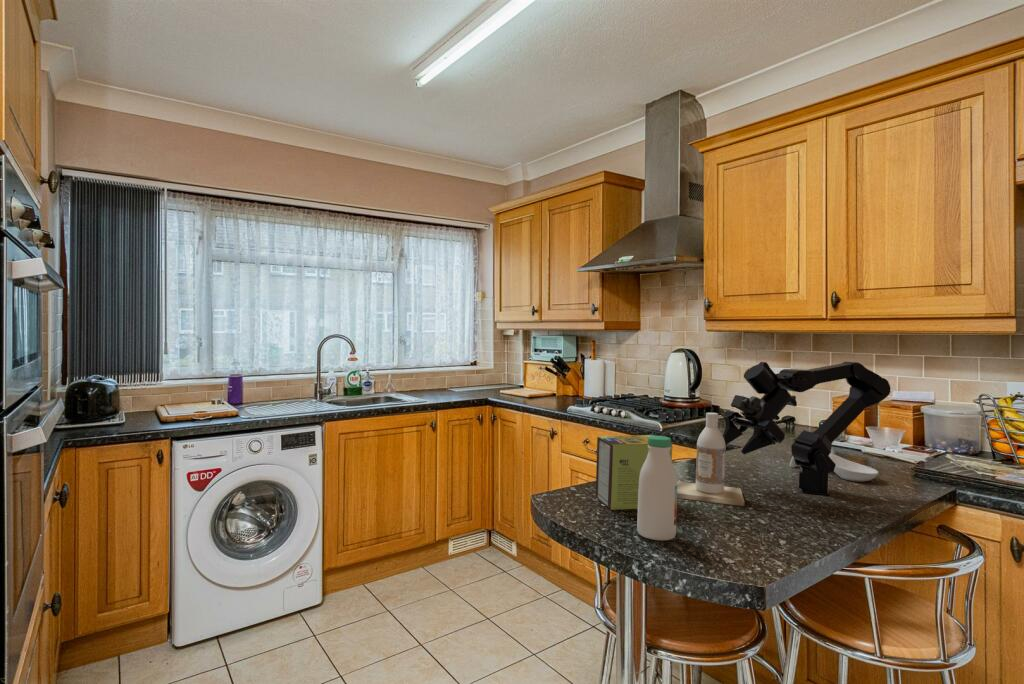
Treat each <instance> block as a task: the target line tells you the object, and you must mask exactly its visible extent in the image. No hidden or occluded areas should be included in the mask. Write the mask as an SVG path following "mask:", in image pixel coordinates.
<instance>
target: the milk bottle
mask: <svg viewBox="0 0 1024 684" xmlns="http://www.w3.org/2000/svg"><path fill="white" fill-rule="evenodd" d="M671 443H672V438H671V437H669V436H664V435H653V436H649V437H648V448H649V452H648V455H647V458H646V460H645V462H644V464H643V466H642V469H641V471H640V476H639V489H638V509H637V513H636V514H637V517H636V518H637V522H636V531H637V533H638V534H639V535H640V536H641V537H643V538H646V539H648V540H653V541H662V542H663V541H671V540H674V539H675V537H676V533H677V514H678V498H677V481H678V476H677V471H676V469H675V466H674V464H673V460H672V461H671V457H670V449H671Z"/></svg>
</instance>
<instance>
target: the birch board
mask: <svg viewBox="0 0 1024 684" xmlns="http://www.w3.org/2000/svg"><path fill="white" fill-rule="evenodd" d="M677 499H681V500H690V501H698V502H707V503H715V504H723V505H731V506H741V507H745V503H746V502H745V501H746V500H745V498H744V496H743V492H742V489H741V487H734V486H731V487H730V486H725V485H724V491H723V492H722V493H720V494H709V493H704V492H701V491H698V490H697V489H696V482H689V481H678V480H677Z"/></svg>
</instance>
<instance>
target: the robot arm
mask: <svg viewBox="0 0 1024 684" xmlns="http://www.w3.org/2000/svg"><path fill="white" fill-rule="evenodd" d="M743 379H745V381H746V382H747V383H748V384H749V385H750V386H751V387H752V389H753V390H754V391H755V392H756V394H759V395H760V394H761V395H763V396H762V397H757V396H755V395H754V396H750V397H748V396H747V397H746V396H744V395H738V394H734V397H733V399H732V401H731V403H730V407H732V408H735V409H737V410H739V411H740V413H739V411H734V410H726V411H725V412H724V413H723V414H722V416H721V417H722V418H723V421H724V422H725V428H724V431H723V434H722V436H723V438H724V440H725V446H727V445H728V444H730V443H731V442H732V441H734V440H736V439H738V438H739V437H741V436H743V435H744V434H743V432H746V431H747V430H748V429H751V430H753V433H752V435H751V437H750V438H749V439H748V440H747V442H746V443H745V445H743V447H742V449H741V450H740V452H741V454H743V455H747V454H750V453H751V452H754V451H757V450H761V449H762V448H766V447H768V446H772V445H776V444H779V445H780V444H781V443H782V442H783V441H784V440H785V439H786V437H785V435H786V434H785V431H783V429H782V427H780V426H779V425H778V423H776V421H779V420H780V419H781V418H780V416H779V414H780V413H781V412H783V410H784V409H785V407H787V406H792V407H797V405H798V402H797V399H796V398H797V396H796V395H793V394H791V393H790V392H795V393H804V392H807V391H808V390H811V389H814V387H815V386H817V385H819V384H824V383H828V382H830V383H831V382H833V381H834V382H835V381H839V380H845V381H846V383H847V384H848V385H849V386H850V387H849V392H848V397H847V398H846V399H845V400H844V401H843V402H842V403H841V404H840V405H839V406H838V407H837V408H836V409H835V410H834V411H833V412H832V413H831V414H830V415H829V416H828V417H827V418H826V419H825V420H824V421H823V422H822V424H820V425H819V427H817V428H816V430H814V431H812V432H811V431H808V430H807V431H806V430H802V431H801V433H800V434H799V435H798V436H797V437H796V438H794V439H793V441H794V442H793V443H792V444H791V446H790V448H791V452H790V453H791V455H792V457H794V460H795V464H796V465H798V466H799V471H797V476H796V477H797V480H796V483H797V487H798V489H799V490H800V491H801V493H807V494H814V495H815V494H816V495H825V496H829V495H830V492H829V489H828V487H829V474H830V473H833V472H834V469H835V466H836V464H835V463H834V462H833V461H832V460H831V458H830V457H829V454H830V453H831V452H832V447H833V446H832V444H833V442H834V441H836V439H837V438H839V436H840V435H841V434H842V433H843V432H844V431H846V430H847V428H848V427H849V426H850V425H851V424H852V423H853V422H854V421H855V420H856V419H857V417H859V416H861V415H860V414H862V413H863V412H864V411H865V410H866V408H867V409H868V408H869V407H871V406H875V405H877V404H879V403H881V402H882V401H884V400H885V399H886V398H887V397H889V395H890V394H891V384H890V383H889V380H888V379H886V378H884V377H882V376H880V374H877V373H875V372H874V371H872V370H870V369H868V368H867V367H865V366H864V364H861V362H856V361H844V362H841V363H836V364H831V365H826V366H820V367H819V366H818V367H815V368H809V369H804V368H803V369H798V368H797V369H796V368H784V369H781V370H779V373H775V372H774V371H773V370H772V368H771V367H770V365H769V363H768V362H767V361H760V362H759V363H758V364H755V365H753V366H751V367H750V368H748V369H746V370H745V372H744V373H743ZM744 417H745V418H744Z"/></svg>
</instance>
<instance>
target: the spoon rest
mask: <svg viewBox="0 0 1024 684" xmlns="http://www.w3.org/2000/svg"><path fill="white" fill-rule="evenodd" d="M829 457H830V458H831V460H832V461H833V462H834V463H835V464H836V466H835V469H834V471H833V472H834V473H835V474H836V475H837V476H839V478H840V479H843V480H845V481H851V482H857V483H858V482H860V483H861V482H862V483H863V482H869V481H872V480H874V478H876V477H877V476H878V475H879V473H880V472H879V470H877V469H875V468H873V467H870V466H868V465H863V464H861V463H857V462H854V461H851V460H848V459H846V458H845V457H841V456H839V455H836V454H834V453H830V454H829ZM798 466H799V465H796V464H795V460H794V457H793V456H792V457H791V458H790V462H789V467H790V468H797V467H798Z"/></svg>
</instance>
